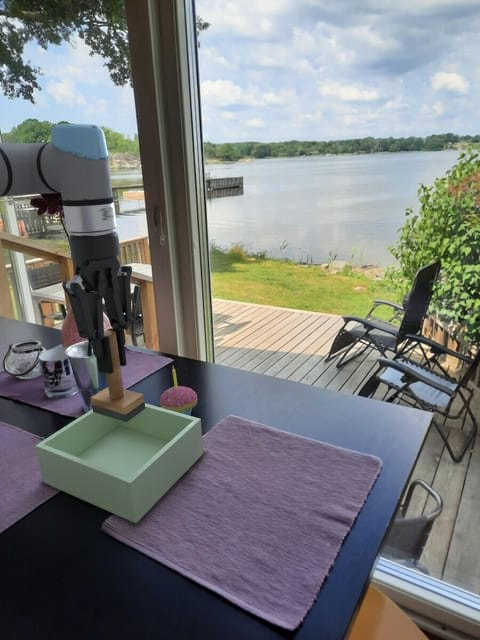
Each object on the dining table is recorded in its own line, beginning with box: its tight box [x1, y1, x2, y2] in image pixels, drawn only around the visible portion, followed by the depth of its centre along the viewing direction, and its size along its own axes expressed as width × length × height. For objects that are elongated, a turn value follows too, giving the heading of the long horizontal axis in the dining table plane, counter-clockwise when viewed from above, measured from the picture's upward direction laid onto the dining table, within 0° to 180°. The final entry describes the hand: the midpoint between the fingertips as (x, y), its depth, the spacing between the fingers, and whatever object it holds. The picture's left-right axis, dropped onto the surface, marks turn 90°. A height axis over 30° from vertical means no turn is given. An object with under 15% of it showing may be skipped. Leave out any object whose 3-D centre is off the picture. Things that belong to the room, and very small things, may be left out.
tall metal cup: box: [64, 339, 108, 414], centre depth 100 cm, size 11×11×30 cm
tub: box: [34, 402, 204, 524], centre depth 83 cm, size 22×20×8 cm
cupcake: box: [159, 365, 198, 416], centre depth 98 cm, size 9×8×12 cm
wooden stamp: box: [91, 330, 146, 422], centre depth 77 cm, size 8×5×15 cm, turn 62°
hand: (112, 367), depth 77 cm, fingers closed on wooden stamp, 3 cm apart
